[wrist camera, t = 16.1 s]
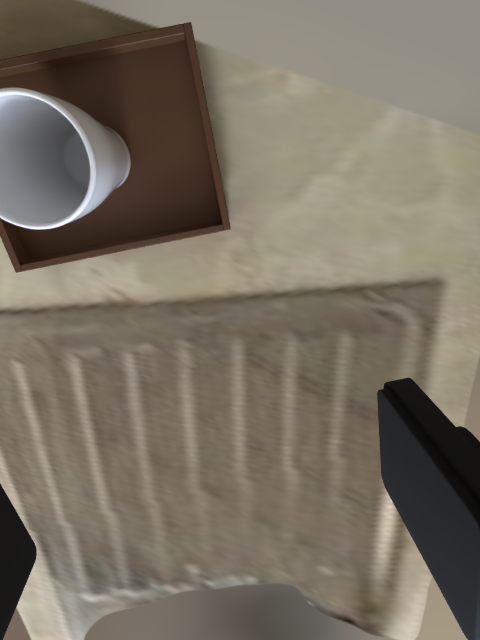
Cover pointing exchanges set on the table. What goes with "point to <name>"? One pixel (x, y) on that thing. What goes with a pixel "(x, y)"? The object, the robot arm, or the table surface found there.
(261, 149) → the table surface
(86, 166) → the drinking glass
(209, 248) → the table surface
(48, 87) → the tray
